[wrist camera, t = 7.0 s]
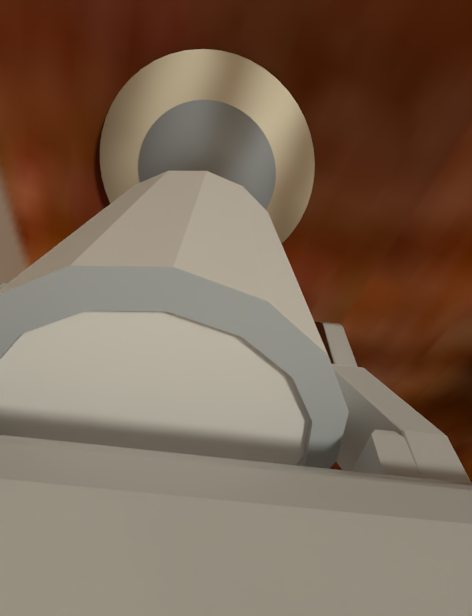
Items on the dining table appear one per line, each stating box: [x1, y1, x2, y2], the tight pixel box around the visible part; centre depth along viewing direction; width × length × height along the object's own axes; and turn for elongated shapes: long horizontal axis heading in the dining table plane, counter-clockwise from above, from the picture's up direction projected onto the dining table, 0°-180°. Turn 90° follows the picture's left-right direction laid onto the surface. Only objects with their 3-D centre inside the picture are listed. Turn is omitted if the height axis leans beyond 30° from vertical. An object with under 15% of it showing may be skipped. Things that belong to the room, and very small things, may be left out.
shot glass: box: [0, 171, 349, 469], centre depth 10 cm, size 7×7×7 cm
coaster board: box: [100, 49, 315, 243], centre depth 26 cm, size 14×14×1 cm
